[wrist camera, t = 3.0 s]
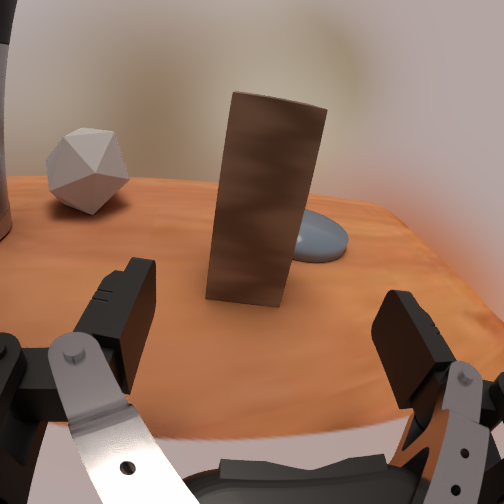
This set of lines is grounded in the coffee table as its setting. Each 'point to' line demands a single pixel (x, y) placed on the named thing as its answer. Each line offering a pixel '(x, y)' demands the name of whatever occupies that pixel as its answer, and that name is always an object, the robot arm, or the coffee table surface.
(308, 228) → the slate dish
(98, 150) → the die
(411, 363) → the robot arm
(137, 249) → the coffee table surface
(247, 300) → the walnut block
